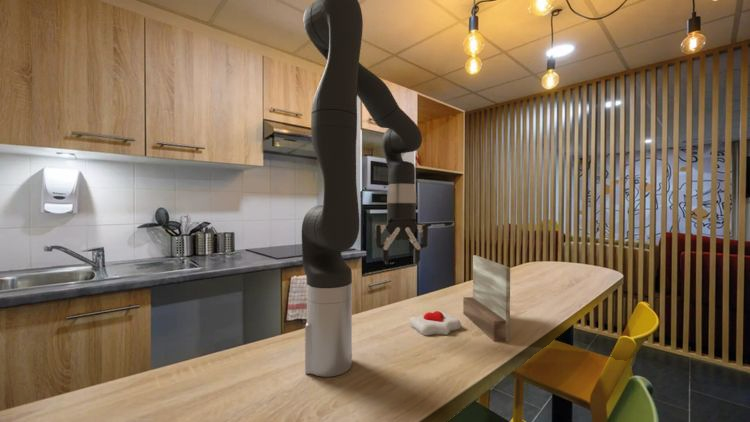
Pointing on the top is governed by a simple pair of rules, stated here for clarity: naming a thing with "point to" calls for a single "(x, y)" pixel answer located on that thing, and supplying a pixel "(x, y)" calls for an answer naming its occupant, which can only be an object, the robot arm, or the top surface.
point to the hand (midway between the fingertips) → (401, 263)
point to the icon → (435, 323)
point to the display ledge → (490, 299)
